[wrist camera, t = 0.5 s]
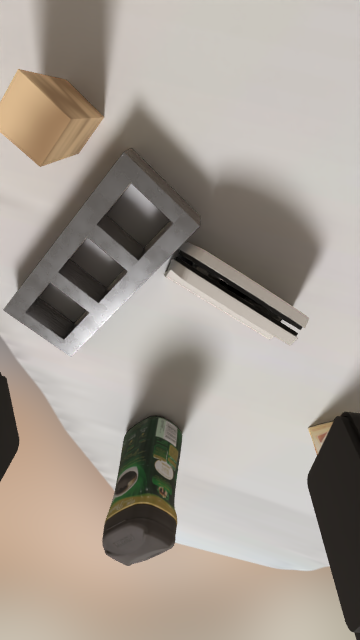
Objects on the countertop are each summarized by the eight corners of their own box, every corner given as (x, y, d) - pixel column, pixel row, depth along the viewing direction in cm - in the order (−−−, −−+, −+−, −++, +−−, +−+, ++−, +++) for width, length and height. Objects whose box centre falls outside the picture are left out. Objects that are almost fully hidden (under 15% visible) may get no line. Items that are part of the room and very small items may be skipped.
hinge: (161, 273, 43) (169, 285, 33) (181, 239, 42) (195, 242, 32) (266, 337, 47) (300, 365, 37) (286, 307, 46) (327, 328, 36)
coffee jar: (151, 457, 61) (133, 578, 45) (118, 434, 59) (86, 554, 43) (191, 433, 57) (186, 556, 42) (157, 407, 55) (137, 527, 39)
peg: (41, 119, 35) (-11, 122, 26) (66, 79, 33) (18, 68, 24) (78, 153, 36) (40, 166, 28) (103, 117, 34) (71, 119, 26)
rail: (18, 295, 46) (3, 310, 42) (131, 148, 36) (123, 152, 32) (80, 339, 49) (70, 356, 45) (200, 216, 39) (199, 226, 35)
